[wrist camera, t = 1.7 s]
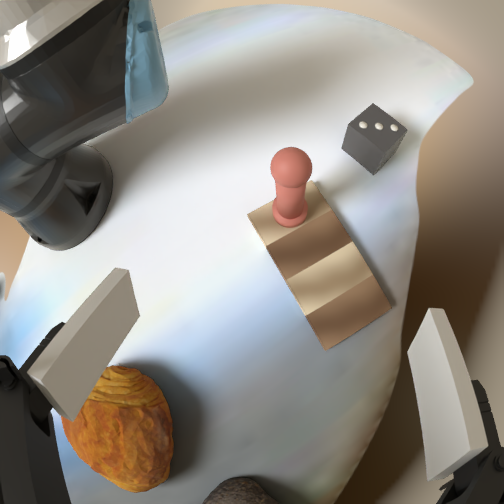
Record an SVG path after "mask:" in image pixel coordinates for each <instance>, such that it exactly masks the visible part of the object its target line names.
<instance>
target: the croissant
mask: <svg viewBox="0 0 504 504" xmlns="http://www.w3.org/2000/svg"><path fill="white" fill-rule="evenodd" d="M61 419H62V424H63V428H64V432H65V435H66V437H67V439H68V441H69V442H70V444H71V445H72V447H73V449H74V450H75V451H76V453H77V455H78V456H79V458H81V459H82V460H83V461H84V462H85V463H87V464H88V465H89V466H91V468H92V469H93V470H94V471H95V472H97V473H100V474H101V475H102V476H103V477H105V478H106V479H108V480H110V481H111V482H113V483H115V484H116V485H117V486H119V487H120V488H123V489H125V490H128V491H130V492H134V493H137V492H145V491H148V490H149V489H152V488H154V487H157V486H158V485H159V484H160V483H163V482H164V481H165V480H166V479H167V478H168V476H169V472H170V461H171V459H172V456H173V446H174V441H173V438H172V431H173V427H172V423H173V421H172V418H171V414H170V409H169V406H168V403H167V401H166V399H165V397H164V396H163V392H162V390H160V389H159V386H157V385H156V384H155V382H154V380H152V379H151V378H150V377H148V376H146V375H144V374H142V373H141V372H140V371H139V370H138V369H136V368H130V369H129V368H127V367H122V366H113V365H112V366H110V367H106V369H105V370H104V372H103V373H102V375H101V377H100V378H99V380H98V381H97V383H96V385H95V386H94V388H93V390H92V391H91V393H90V395H89V396H88V398H87V400H86V401H85V403H84V405H83V406H82V408H81V410H80V411H79V413H78V415H77V416H76V418H75V420H74V422H72V421H70V420H68V419H66V418H64V417H62V416H61Z"/></svg>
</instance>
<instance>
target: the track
mask: <svg viewBox="0 0 504 504" xmlns="http://www.w3.org/2000/svg"><path fill="white" fill-rule="evenodd" d="M304 198H305V200H306V202H307V205H308V211H307V216H306V219H305V221H304V222H303V223H302V224H301V225H299V226H297V227H294V228H286V227H283V226H281V225H279V224H278V223H277V222H276V221H275V219H274V217H273V211H272V205H273V201H274V200H273V201H271V202H269V203H267V204H266V205H264V206H262V207H260V208H258V209H256V210H254V211H253V212H251V213H249V214H247V215H248V218H249V220H250V221H251V223H252V225H253V226H254V228H255V230H256V232H257V233H258V235H259V237H260V238H261V240H262V242H263V244H264V245H265V247H266V249H267V250H268V252H269V254H270V256H271V257H272V259H273V261H274V263H275V264H276V266H277V268H278V269H279V271H280V273H281V275H282V276H283V278H284V280H285V282H286V283H287V285H288V287H289V289H290V290H291V292H292V294H293V296H294V297H295V299H296V301H297V302H298V304H299V306H300V308H301V309H302V311H303V313H304V315H305V317H306V318H307V320H308V322H309V324H310V325H311V327H312V329H313V331H314V332H315V334H316V336H317V338H318V339H319V341H320V343H321V345H322V347H323V348H324V350H325V351H326V350H328V349H329V348H331V347H333V346H334V345H336V344H338V343H339V342H341V341H342V340H344V339H346V338H347V337H349V336H350V335H352V334H354V333H355V332H357V331H358V330H360V329H361V328H363V327H365V326H366V325H368V324H369V323H371V322H372V321H374V320H375V319H377V318H378V317H380V316H381V315H383V314H384V313H385V312H387V311H388V310H390V309H391V308H392V307H391V305H390V303H389V302H388V300H387V298H386V296H385V294H384V293H383V291H382V289H381V287H380V286H379V284H378V282H377V281H376V279H375V277H374V275H373V274H372V272H371V270H370V269H369V267H368V265H367V264H366V262H365V260H364V259H363V257H362V256H361V254H360V252H359V251H358V249H357V247H356V246H355V244H354V243H353V241H352V240H351V238H350V236H349V235H348V233H347V232H346V230H345V229H344V227H343V226H342V224H341V222H340V221H339V219H338V218H337V216H336V215H335V213H334V212H333V210H332V209H331V207H330V206H329V204H328V203H327V201H326V200H325V199H324V197H323V196H322V194H321V193H320V191H319V190H318V188H317V187H316V186H315V184H314V183H313V181H312V180H311V181H309V182H307V183H306V190H305V197H304Z"/></svg>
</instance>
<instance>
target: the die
mask: <svg viewBox="0 0 504 504" xmlns="http://www.w3.org/2000/svg"><path fill="white" fill-rule="evenodd" d="M406 132H407V129H406V128H405V127H404V126H402V125H401V124H400V123H399V122H397V121H396V120H395V119H394V118H392V117H391V116H390V115H388V114H387V113H386V112H384V111H383V110H382V109H380V108H379V107H378V106H376V105H375V104H374V103H373V104H372V105H370V106H369V107H368V108H367V109H366V110H364V111H363V112H362V113H361V114H360V115H358V116H357V117H356V118H355V119H354V120H353V121H351V122H350V123H349V124H348V127H347V131H346V134H345V138H344V141H343V145H342V149H343V150H344V151H345V152H346V153H348V154H349V155H350V156H351V157H352V158H354V159H355V160H356V161H357V162H359V163H360V164H361V165H362V166H363V167H365V168H366V169H367V170H368V171H369V172H370V173H372V174H373V175H374V174H375V173H376V172H377V171H378V170H379V169H380V168H381V167H382V166H383V165H384V164H385V163H386V161H387V160H388V159H389V158H390V157H391V156H392V155H393V154H394V153H395V152H396V150H397V148H398V146H399V145H400V143H401V141H402V139H403V137H404V135H405V134H406Z"/></svg>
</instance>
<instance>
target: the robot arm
mask: <svg viewBox="0 0 504 504" xmlns="http://www.w3.org/2000/svg"><path fill="white" fill-rule="evenodd" d="M168 90H169V86H168V79H167V73H166V68H165V63H164V58H163V53H162V48H161V43H160V39H159V34H158V29H157V24H156V20H155V16H154V11H153V7H152V3H151V0H0V210H1V211H3V212H5V213H7V214H9V215H11V216H13V217H15V219H16V220H17V221H18V222H19V223H20V225H21V226H22V227H23V228H24V229H25V230H26V231H27V233H28V234H29V235H30V236H31V237H32V238H33V239H34V240H35V241H36V242H37V243H38V244H40V245H42V246H45V247H47V248H49V249H52V250H57V251H60V250H66V249H69V248H72V247H74V246H76V245H78V244H79V243H80V242H82V241H83V240H84V239H85V238H87V237H88V236H89V235H90V233H91V232H92V231H93V230H94V229H95V227H96V226H97V225H98V223H99V222H100V220H101V218H102V217H103V215H104V213H105V211H106V208H107V206H108V203H109V200H110V197H111V192H112V184H113V178H112V171H111V168H110V165H109V163H108V162H107V160H106V159H105V158H104V157H103V156H102V155H101V154H100V153H99V152H98V151H97V150H96V149H94V148H93V147H91V146H88V145H85V144H83V143H85V142H87V141H89V140H91V139H93V138H95V137H97V136H99V135H101V134H103V133H105V132H107V131H109V130H111V129H113V128H115V127H117V126H120V125H122V124H124V123H127V124H128V123H130V122H131V121H132V120H133V119H134V118H136V117H138V116H140V115H142V114H144V113H146V112H148V111H150V110H153V109H155V108H157V107H158V106H160V105H161V104H162V103H163V102H164V100H165V99H166V97H167V95H168ZM139 316H140V314H139V311H138V307H137V303H136V299H135V295H134V291H133V286H132V282H131V278H130V273H129V270H126V269H120V268H115V269H114V270H113V271H112V272H111V273H110V274H109V275H108V276H107V277H106V278H105V279H104V280H103V281H102V283H101V284H100V285H99V286H98V287H97V288H96V289H95V290H94V291H93V292H92V294H91V295H90V296H89V297H88V298H87V299H86V300H85V302H84V303H83V304H82V305H81V306H80V307H79V308H78V310H77V311H76V312H75V313H74V314H73V315H72V317H71V318H70V319H69V320H68V321H67V322H66V323H63V322H61V323H60V324H58V325H57V326H55V327H54V328H52V329H51V330H50V332H49V333H48V334H47V335H46V336H45V339H43V340H42V341H41V343H40V345H38V346H37V348H36V349H35V350H34V351H33V352H32V354H31V355H30V356H29V358H28V359H27V360H26V361H25V363H24V364H23V365H22V367H21V368H20V369H19V370H18V369H17V368H16V366H15V365H14V363H13V362H12V360H11V359H10V357H8V356H6V355H0V504H71V501H70V498H69V494H68V491H67V487H66V483H65V479H64V475H63V471H62V467H61V462H60V457H59V452H58V447H57V442H56V436H55V430H54V423H53V417H52V414H51V412H50V411H51V409H52V408H54V409H55V410H56V411H57V413H58V414H59V415H61V416H62V417H64V418H66V419H68V420H70V421H72V422H74V420H75V418H76V416H77V415H78V413H79V411H80V410H81V408H82V406H83V405H84V403H85V401H86V400H87V398H88V396H89V395H90V393H91V391H92V390H93V388H94V386H95V385H96V383H97V381H98V380H99V378H100V377H101V375H102V373H103V372H104V370H105V369H106V367H107V365H108V364H109V362H110V361H111V359H112V358H113V356H114V354H115V353H116V351H117V350H118V348H119V347H120V345H121V344H122V342H123V341H124V339H125V338H126V336H127V334H128V333H129V331H130V330H131V328H132V327H133V325H134V324H135V322H136V321H137V319H138V318H139ZM407 353H408V357H409V361H410V365H411V371H412V375H413V380H414V385H415V390H416V396H417V401H418V407H419V413H420V419H421V426H422V433H423V441H424V449H425V459H426V469H427V481H433V480H439V479H444V478H446V477H447V476H449V475H450V474H452V473H453V475H454V479H452V480H451V481H449V482H448V483H446V484H444V485H443V486H442V487H441V488H440V489H439V490H443V489H445V488H446V487H447V488H446V490H445V491H444V493H443V494H442V496H441V497H440V499H439V500H438V502H437V503H436V504H504V447H501V445H500V442H499V438H498V433H497V430H496V425H495V422H494V418H493V414H492V412H491V407H490V404H489V403H488V398H487V394H486V391H485V389H484V388H483V386H482V385H481V384H480V382H479V381H478V380H470V377H469V374H468V371H467V368H466V365H465V362H464V359H463V357H462V354H461V351H460V348H459V346H458V343H457V341H456V338H455V335H454V333H453V330H452V328H451V326H450V323H449V321H448V319H447V316H446V314H445V312H444V309H436V308H429V309H428V311H427V313H426V315H425V318H424V320H423V322H422V324H421V326H420V328H419V330H418V332H417V335H416V337H415V338H414V340H413V342H412V344H411V346H410V348H409V350H408V352H407Z"/></svg>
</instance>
